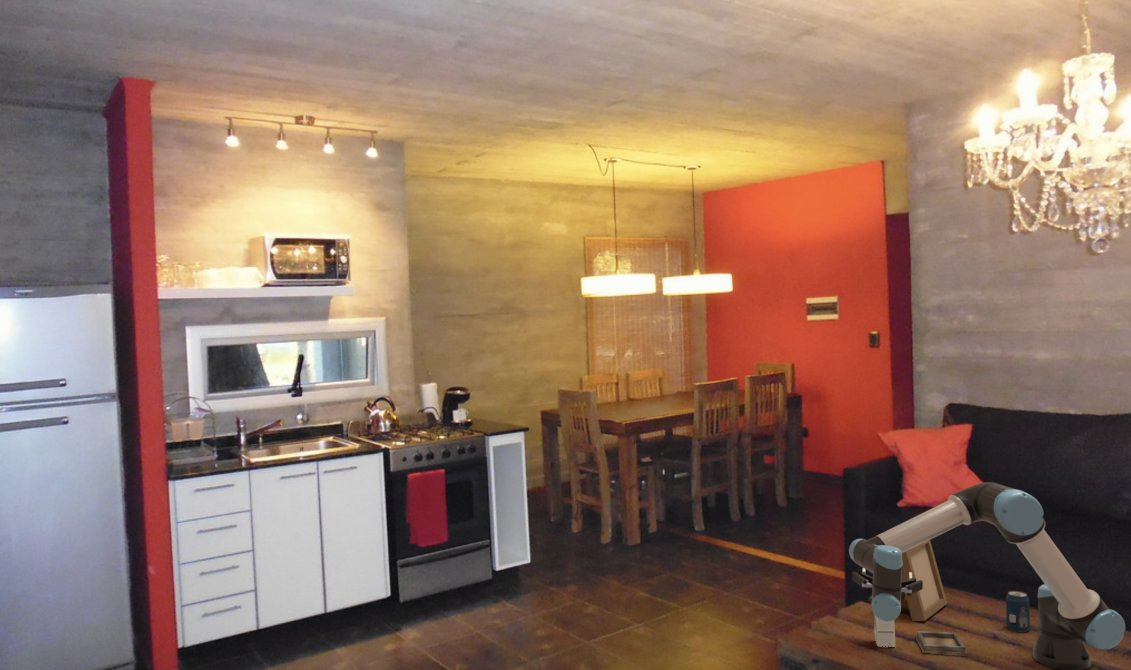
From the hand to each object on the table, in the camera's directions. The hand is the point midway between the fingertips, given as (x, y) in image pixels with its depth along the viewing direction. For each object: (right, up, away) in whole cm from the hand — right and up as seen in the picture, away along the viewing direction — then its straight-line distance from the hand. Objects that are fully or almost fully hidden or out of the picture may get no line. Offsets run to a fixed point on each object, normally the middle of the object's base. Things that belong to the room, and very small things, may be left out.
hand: (887, 573), depth 263 cm
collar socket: (+19, -25, +4) cm, 31 cm away
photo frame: (+24, -24, +37) cm, 50 cm away
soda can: (+50, -24, +16) cm, 58 cm away
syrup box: (+2, -25, +8) cm, 27 cm away
